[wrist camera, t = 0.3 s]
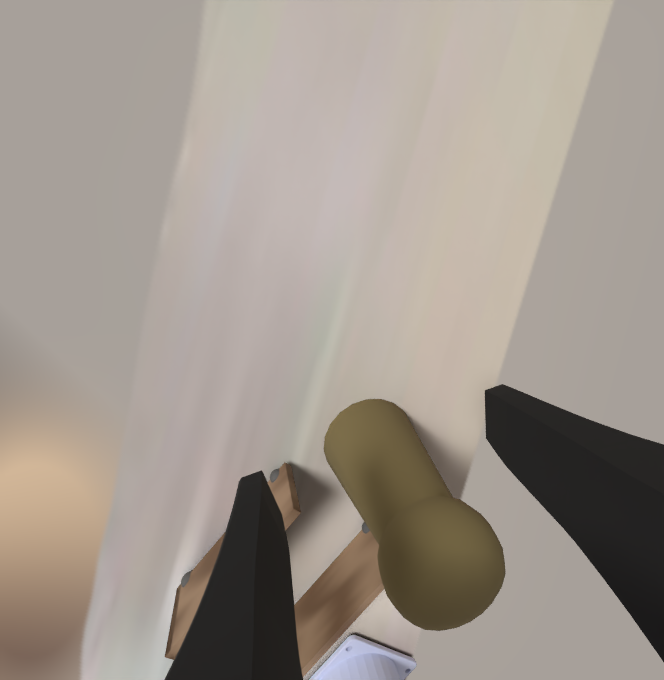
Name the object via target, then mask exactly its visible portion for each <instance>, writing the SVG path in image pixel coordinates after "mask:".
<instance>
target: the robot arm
mask: <svg viewBox="0 0 664 680" xmlns="http://www.w3.org/2000/svg"><path fill="white" fill-rule="evenodd" d="M485 416H486V439H487V440H488V442H489V443H490V444H491V446H492V447H493V449H494V450H495V452H496V453H497V454H498V456H499V457H500V458H501V460H502V461H503V462H504V464H505V465H506V466H507V468H508V469H509V470H510V471H511V472H512V473H513V474H514V475H515V476H516V477H517V479H518V480H519V481H520V482H521V483H522V484H523V485H524V486H525V487H526V488H527V490H528V491H529V492H530V493H531V494H532V495H533V496H534V497H535V498H536V499H537V500H538V501H539V502H540V504H541V505H542V506H543V507H544V508H545V509H546V510H547V511H548V512H549V513H550V514H551V515H552V516H553V517H554V519H555V520H556V521H557V522H558V523H559V524H560V525H561V526H562V527H563V528H564V530H565V531H566V532H567V533H568V534H569V535H570V536H571V538H572V539H573V540H574V541H575V542H576V544H577V545H578V546H579V547H580V549H581V550H582V551H583V553H584V554H585V555H586V556H587V558H588V559H589V560H590V562H591V563H592V564H593V565H594V566H595V568H596V569H597V571H598V572H599V573H600V574H601V576H602V577H603V578H604V579H605V581H606V582H607V584H608V585H609V586H610V588H611V589H612V590H613V592H614V593H615V595H616V596H617V597H618V598H619V600H620V601H621V603H622V604H623V605H624V607H625V608H626V609H627V611H628V612H629V613H630V615H631V616H632V618H633V619H634V620H635V622H636V623H637V625H638V626H639V628H640V629H641V630H642V632H643V633H644V635H645V636H646V637H647V639H648V640H649V642H650V643H651V645H652V646H653V647H654V649H655V650H656V651H657V653H658V654H659V656H660V657H661V659H662V660H663V662H664V445H663V444H659V443H657V442H653V441H650V440H646V439H643V438H640V437H637V436H633V435H630V434H628V433H625V432H622V431H619V430H616V429H614V428H610V427H608V426H605V425H602V424H599V423H597V422H594V421H591V420H589V419H586V418H583V417H581V416H578V415H576V414H573V413H571V412H568V411H566V410H563V409H561V408H559V407H556V406H554V405H551V404H549V403H546V402H544V401H542V400H539V399H537V398H535V397H532V396H530V395H528V394H525V393H523V392H520V391H518V390H516V389H513V388H511V387H508V386H506V385H503V384H502V385H499V386H496V387H493V388H491V389H488V390H485ZM416 665H417V664H416V661H415V659H414V658H412V657H409V656H407V655H404V654H402V653H399V652H397V651H394V650H392V649H389V648H387V647H384V646H382V645H379V644H377V643H374V642H371V641H369V640H366V639H364V638H361V637H359V636H356V635H350V636H349V637H348V638H347V639H346V640H345V641H344V642H343V643H342V644H341V645H340V646H339V647H338V648H337V649H336V651H335V652H334V653H333V654H332V655H331V656H330V657H329V658H328V659H327V660H326V661H325V663H324V664H323V665H322V666H321V667H320V668H319V669H318V670H317V671H316V672H315V673H314V674H313V676H312V677H311V678H310V679H309V680H404V679H405V678H406V677H407V676H408V675H409V674H410V673H411V672H412V671H413V670H414V669H415V667H416ZM165 680H303V676H302V670H301V664H300V658H299V650H298V642H297V632H296V621H295V610H294V598H293V587H292V576H291V565H290V555H289V547H288V542H287V537H286V531H285V526H284V522H283V517H282V513H281V511H280V509H279V507H278V505H277V502H276V500H275V498H274V496H273V494H272V491H271V489H270V487H269V485H268V483H267V481H266V478H265V476H264V474H263V472H262V471H259V472H256V473H253V474H251V475H248V476H245V477H242V478H241V480H240V481H239V484H238V489H237V493H236V497H235V501H234V505H233V508H232V512H231V515H230V519H229V522H228V526H227V529H226V532H225V535H224V538H223V541H222V544H221V548H220V551H219V554H218V557H217V559H216V562H215V565H214V568H213V570H212V573H211V576H210V578H209V581H208V584H207V586H206V589H205V592H204V594H203V597H202V599H201V602H200V604H199V606H198V609H197V611H196V614H195V616H194V618H193V621H192V623H191V625H190V627H189V630H188V632H187V634H186V636H185V638H184V641H183V643H182V645H181V647H180V649H179V651H178V653H177V655H176V657H175V659H174V661H173V663H172V666H171V668H170V670H169V672H168V674H167V676H166V678H165Z"/></svg>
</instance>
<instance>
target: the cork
mask: <svg viewBox="0 0 664 680" xmlns="http://www.w3.org/2000/svg"><path fill="white" fill-rule="evenodd" d="M324 452H325V455H326V459H327V462H328V464H329V465H330V467H331V468H332V470H333V472H334V473H335V475H336V476H337V478H338V480H339V481H340V483H341V485H342V486H343V488H344V489H345V491H346V493H347V494H348V496H349V497H350V499H351V501H352V502H353V504H354V506H355V507H356V509H357V510H358V512H359V514H360V515H361V517H362V518H363V520H364V522H365V523H366V525H367V527H368V528H369V530H370V531H371V533H372V535H373V536H374V538H375V539H376V541H377V543H378V544H379V549H378V555H377V558H378V566H379V572H380V576H381V580H382V583H383V586H384V589H385V591H386V594H387V597H388V598H389V599H390V601H391V602H392V604H393V605H394V606H395V608H396V609H397V610H398V611H399V612H400V614H401V615H402V616H403V617H404V618H405V619H407V620H408V621H409V622H411V623H412V624H414V625H416V626H418V627H420V628H422V629H425V630H436V631H440V630H447V629H452V628H457V627H460V626H462V625H464V624H466V623H468V622H470V621H472V620H473V619H475V618H476V617H478V616H479V615H481V614H482V613H483V612H484V611H485V610H486V609H487V608H488V607H489V605H491V604H492V602H493V601H494V599H495V597H496V596H497V594H498V592H499V591H500V589H501V587H502V584H503V580H504V577H505V562H504V555H503V549H502V546H501V544H500V542H499V540H498V538H497V536H496V534H495V532H494V531H493V529H492V527H491V526H490V524H489V523H488V522H487V521H486V519H485V518H484V517H483V516H482V515H481V514H480V513H479V512H477V511H476V510H474V509H473V508H471V507H470V506H469V505H467V504H466V503H464V502H463V501H461V500H460V499H455V498H453V497H452V495H451V493H450V491H449V490H448V488H447V486H446V484H445V483H444V481H443V479H442V477H441V476H440V474H439V472H438V470H437V469H436V467H435V465H434V463H433V462H432V460H431V458H430V456H429V455H428V453H427V451H426V449H425V448H424V446H423V444H422V442H421V441H420V439H419V437H418V435H417V434H416V432H415V430H414V428H413V427H412V425H411V423H410V421H409V420H408V418H407V416H406V415H405V413H404V411H403V410H402V409H401V408H399V407H398V406H397V405H395V404H394V403H392V402H389V401H385V400H382V399H368V400H364V401H361V402H358V403H355V404H352V405H351V406H349V407H348V408H346V409H345V410H343V411H342V412H340V413H339V415H338V416H337V417H336V418H335V419H334V420H333V422H332V423H331V424H330V426H329V429H328V431H327V433H326V436H325V443H324Z"/></svg>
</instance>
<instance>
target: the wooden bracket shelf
mask: <svg viewBox="0 0 664 680" xmlns="http://www.w3.org/2000/svg"><path fill="white" fill-rule="evenodd" d="M268 485H269V487H270V489H271V491H272V494H273V496H274V498H275V500H276V502H277V505H278V507H279V509H280V511H281V513H282V517H283V522H284V526H285V531H286V529H287V528H288V527H289V526H290V525H291V524H292V522H293V521H294V520H295V519H296V518H297V517H298V516H299V514H300V513H301V511H300V506H299V501H298V497H297V492H296V487H295V482H294V477H293V472H292V467H291V466H290V465H289V464H287V463H284V464H283V465H282V466H281V468H280V469H276V470H274V471H273V472H272V473H271V475H270V480H269V482H268ZM224 535H225V533H224V534H223V535H222V537H221V538H220V539H219V540H218V541H217V542H216V544H215V545H214V546H213V547H212V548H211V549H210V551H209V552H208V553H207V554H206V555H205V556H204V558H203V559H202V560H201V561H200V562H199V563H198V565H197V566H196V567H195V568H194V569H193V571H192V572H188V573H186V574H185V575H184V576H183V578H182V580H181V585H180V586H179V587H178V588H177V592H176V597H175V603H174V609H173V614H172V620H171V625H170V631H169V636H168V642H167V648H166V653H165V657H166V658H170V659H173V660H174V659H175V657H176V655H177V653H178V651H179V649H180V647H181V645H182V643H183V641H184V638H185V636H186V634H187V632H188V630H189V627H190V625H191V623H192V621H193V618H194V616H195V614H196V611H197V609H198V606H199V604H200V602H201V599H202V597H203V594H204V592H205V589H206V586H207V584H208V581H209V578H210V576H211V573H212V570H213V568H214V565H215V562H216V559H217V557H218V554H219V551H220V548H221V544H222V541H223V538H224ZM378 549H379V544H378V543H377V541H376V539H375V538H374V536H373V535H372V533H371V531H370V530H369V528H368V527H367V525H366V523H365V522H364V523H363V525H362V530H361V531H360V533H359V534H358V535H357V536H356V537H355V538H354V539H353V540H352V542H351V543H350V544H349V545H348V546H347V547H346V548H345V549H344V550H343V552H342V553H341V554H340V555H339V556H338V557H337V558H336V559H335V561H334V562H333V563H332V564H331V565H330V566H329V567H328V568H327V569H326V571H325V572H324V573H323V574H322V575H321V576H320V577H319V578H318V580H317V581H316V582H315V583H314V584H313V585H312V586H311V587H310V588H309V590H308V591H307V592H306V593H305V594H304V595H303V596H302V597H301V599H300V600H299V601H298V602H297V603H296V604H295V605H294V610H295V621H296V632H297V642H298V650H299V658H300V664H301V670H302V676H304V675H305V674H306V673H307V672H308V671H309V670H310V669H311V668H312V667H313V666H314V665H315V663H316V662H317V661H318V660H319V659H320V658H321V657H322V656H323V655H324V654H325V653H326V651H327V650H328V649H329V648H330V647H331V646H332V645H333V644H334V643H335V642H336V641H337V639H338V638H339V637H340V636H341V635H342V634H343V633H344V632H345V631H346V630H347V629H348V627H349V626H350V625H351V624H352V623H353V622H354V621H355V620H356V619H357V618H358V617H359V615H360V614H361V613H362V612H363V611H364V610H365V609H366V608H367V607H368V606H369V605H370V603H371V602H372V601H373V600H374V599H375V598H376V597H377V596H378V595H379V594H380V593H381V592H382V590H383V589H384V586H383V583H382V580H381V576H380V572H379V566H378V558H377V555H378Z"/></svg>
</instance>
